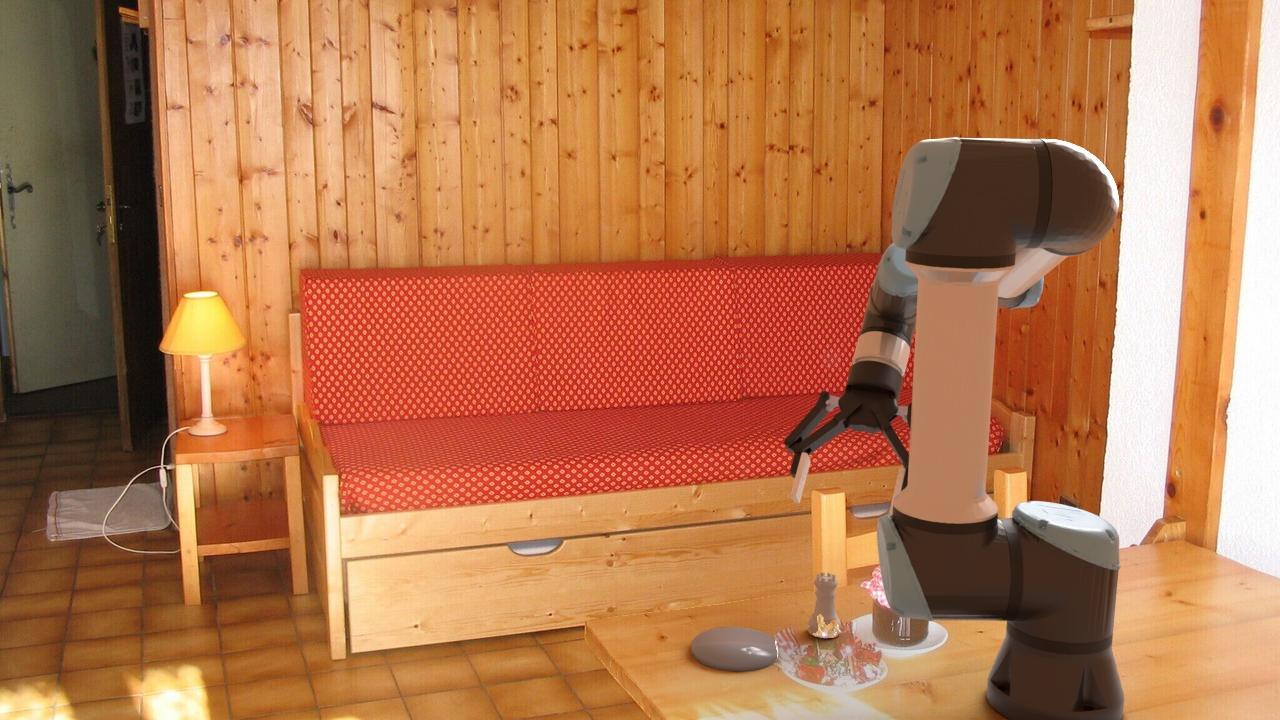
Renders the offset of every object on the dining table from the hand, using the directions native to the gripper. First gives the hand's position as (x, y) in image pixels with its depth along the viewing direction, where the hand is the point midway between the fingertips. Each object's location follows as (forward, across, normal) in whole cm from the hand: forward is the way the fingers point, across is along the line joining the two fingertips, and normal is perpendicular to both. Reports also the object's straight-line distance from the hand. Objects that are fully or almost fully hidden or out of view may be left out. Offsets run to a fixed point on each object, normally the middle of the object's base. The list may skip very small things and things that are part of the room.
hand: (843, 508), depth 171 cm
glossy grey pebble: (+23, +8, +4) cm, 25 cm away
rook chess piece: (+16, 0, -4) cm, 17 cm away
